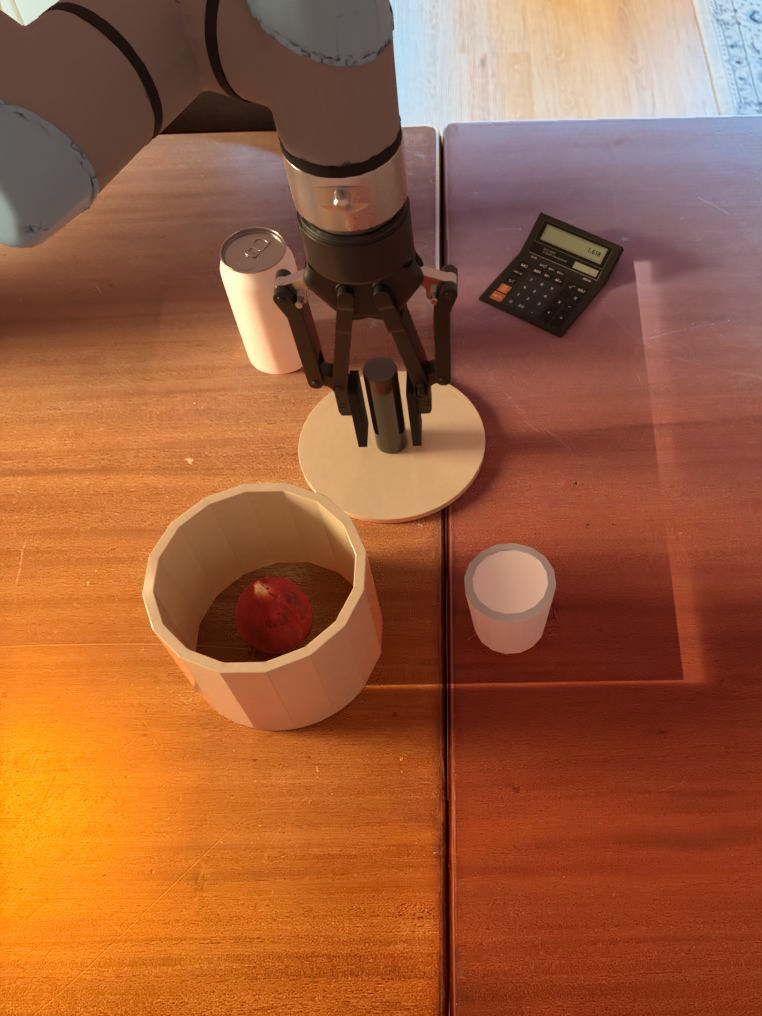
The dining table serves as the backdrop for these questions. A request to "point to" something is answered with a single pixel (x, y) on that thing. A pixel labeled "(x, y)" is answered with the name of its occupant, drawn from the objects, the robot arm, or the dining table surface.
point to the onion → (273, 615)
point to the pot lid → (392, 450)
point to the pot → (242, 549)
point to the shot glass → (509, 596)
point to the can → (259, 296)
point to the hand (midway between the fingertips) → (390, 433)
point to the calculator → (554, 275)
